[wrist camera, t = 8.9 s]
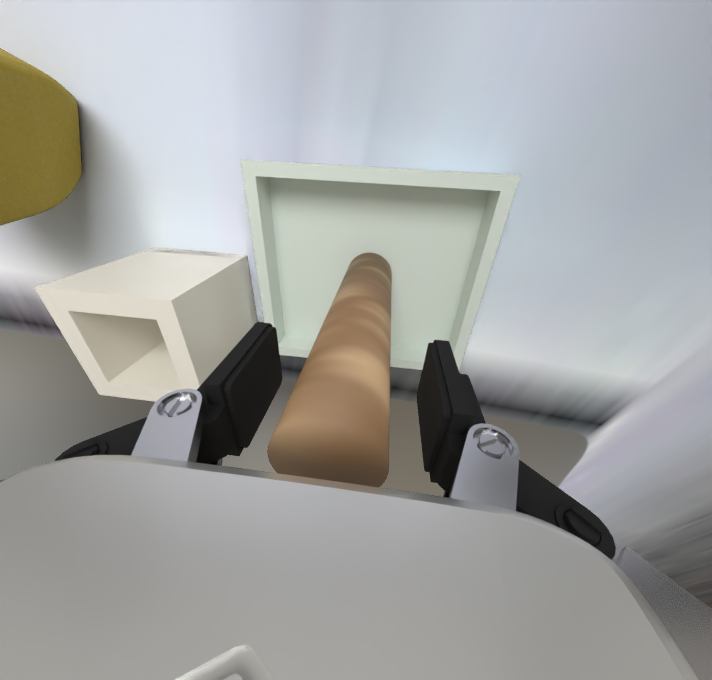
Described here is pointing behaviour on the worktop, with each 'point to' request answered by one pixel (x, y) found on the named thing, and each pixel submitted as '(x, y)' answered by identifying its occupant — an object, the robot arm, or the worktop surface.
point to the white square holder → (153, 318)
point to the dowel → (343, 387)
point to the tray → (375, 246)
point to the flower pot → (35, 140)
